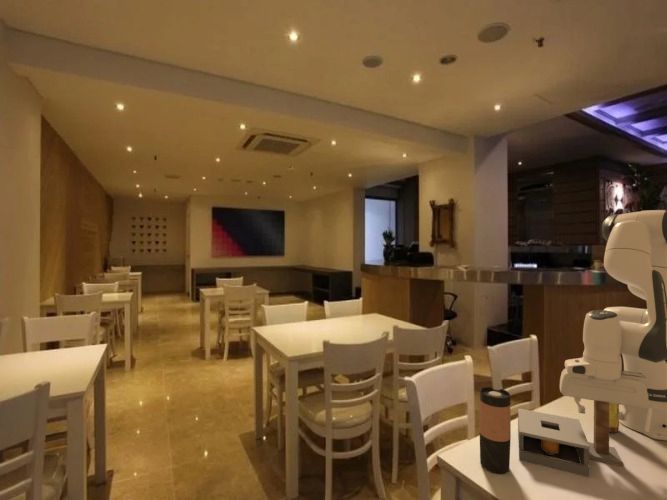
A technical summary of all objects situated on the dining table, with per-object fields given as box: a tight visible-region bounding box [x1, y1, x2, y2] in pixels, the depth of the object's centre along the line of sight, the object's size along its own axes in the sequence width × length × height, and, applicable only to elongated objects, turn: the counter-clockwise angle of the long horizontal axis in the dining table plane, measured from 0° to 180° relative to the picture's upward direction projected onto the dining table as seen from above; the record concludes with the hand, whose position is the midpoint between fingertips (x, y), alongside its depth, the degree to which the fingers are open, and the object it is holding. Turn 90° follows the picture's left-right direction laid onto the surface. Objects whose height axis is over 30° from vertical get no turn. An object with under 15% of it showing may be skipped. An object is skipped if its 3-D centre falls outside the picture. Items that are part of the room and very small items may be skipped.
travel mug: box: [478, 386, 512, 475], centre depth 95 cm, size 8×8×20 cm
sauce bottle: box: [609, 403, 620, 433], centre depth 115 cm, size 7×6×20 cm
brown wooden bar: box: [593, 400, 610, 455], centre depth 100 cm, size 3×3×16 cm
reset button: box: [540, 439, 560, 454], centre depth 101 cm, size 4×4×2 cm
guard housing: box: [517, 408, 591, 478], centre depth 101 cm, size 16×16×8 cm
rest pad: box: [588, 441, 623, 467], centre depth 100 cm, size 8×8×1 cm
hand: (601, 416), depth 100 cm, fingers open, 8 cm apart
